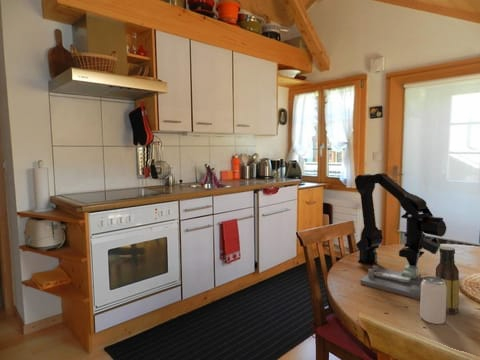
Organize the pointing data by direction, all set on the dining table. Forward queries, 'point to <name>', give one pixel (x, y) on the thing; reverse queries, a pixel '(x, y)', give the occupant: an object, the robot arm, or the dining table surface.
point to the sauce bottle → (449, 278)
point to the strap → (392, 276)
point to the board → (393, 283)
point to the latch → (410, 271)
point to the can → (433, 300)
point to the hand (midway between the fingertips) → (413, 270)
